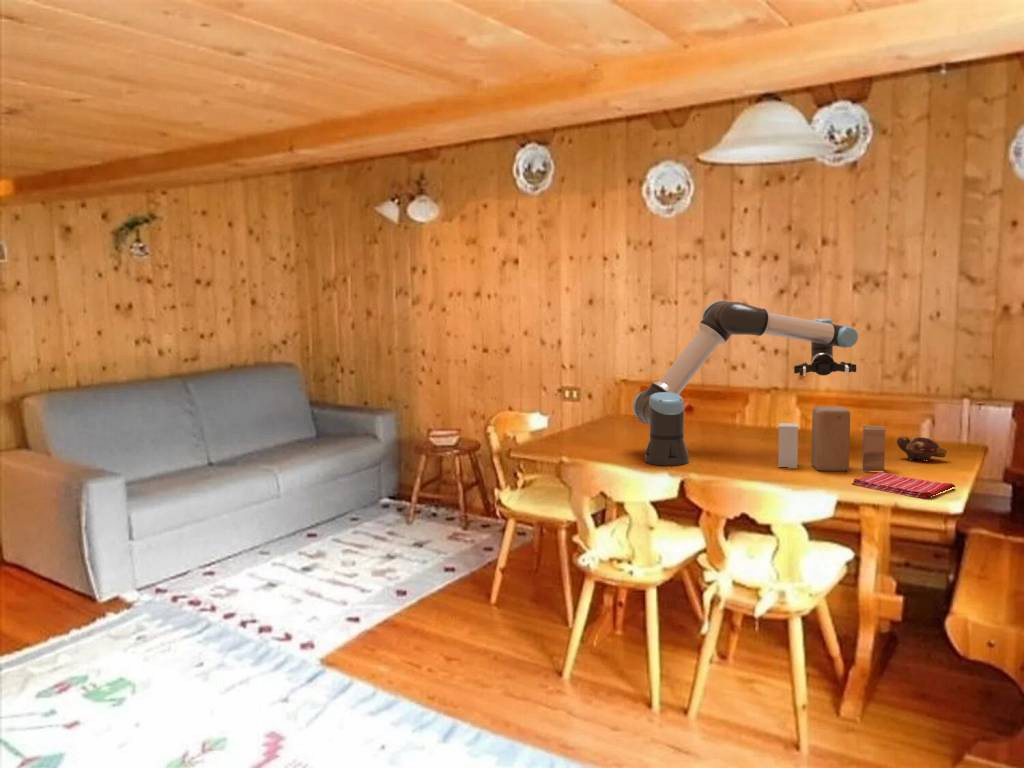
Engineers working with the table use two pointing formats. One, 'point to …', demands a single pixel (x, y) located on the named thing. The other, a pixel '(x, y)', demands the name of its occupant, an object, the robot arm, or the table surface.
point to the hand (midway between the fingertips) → (825, 372)
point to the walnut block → (873, 448)
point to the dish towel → (902, 485)
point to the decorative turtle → (920, 448)
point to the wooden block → (830, 438)
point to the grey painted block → (788, 445)
